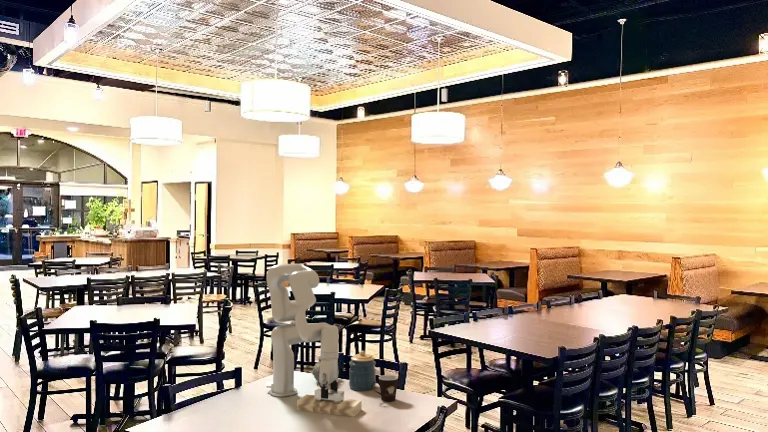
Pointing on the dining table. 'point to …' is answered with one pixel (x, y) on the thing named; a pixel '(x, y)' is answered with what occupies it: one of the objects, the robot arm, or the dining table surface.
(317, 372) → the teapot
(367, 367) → the canister
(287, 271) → the robot arm
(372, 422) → the dining table surface
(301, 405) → the rail
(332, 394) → the grey arched block
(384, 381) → the coffee mug
